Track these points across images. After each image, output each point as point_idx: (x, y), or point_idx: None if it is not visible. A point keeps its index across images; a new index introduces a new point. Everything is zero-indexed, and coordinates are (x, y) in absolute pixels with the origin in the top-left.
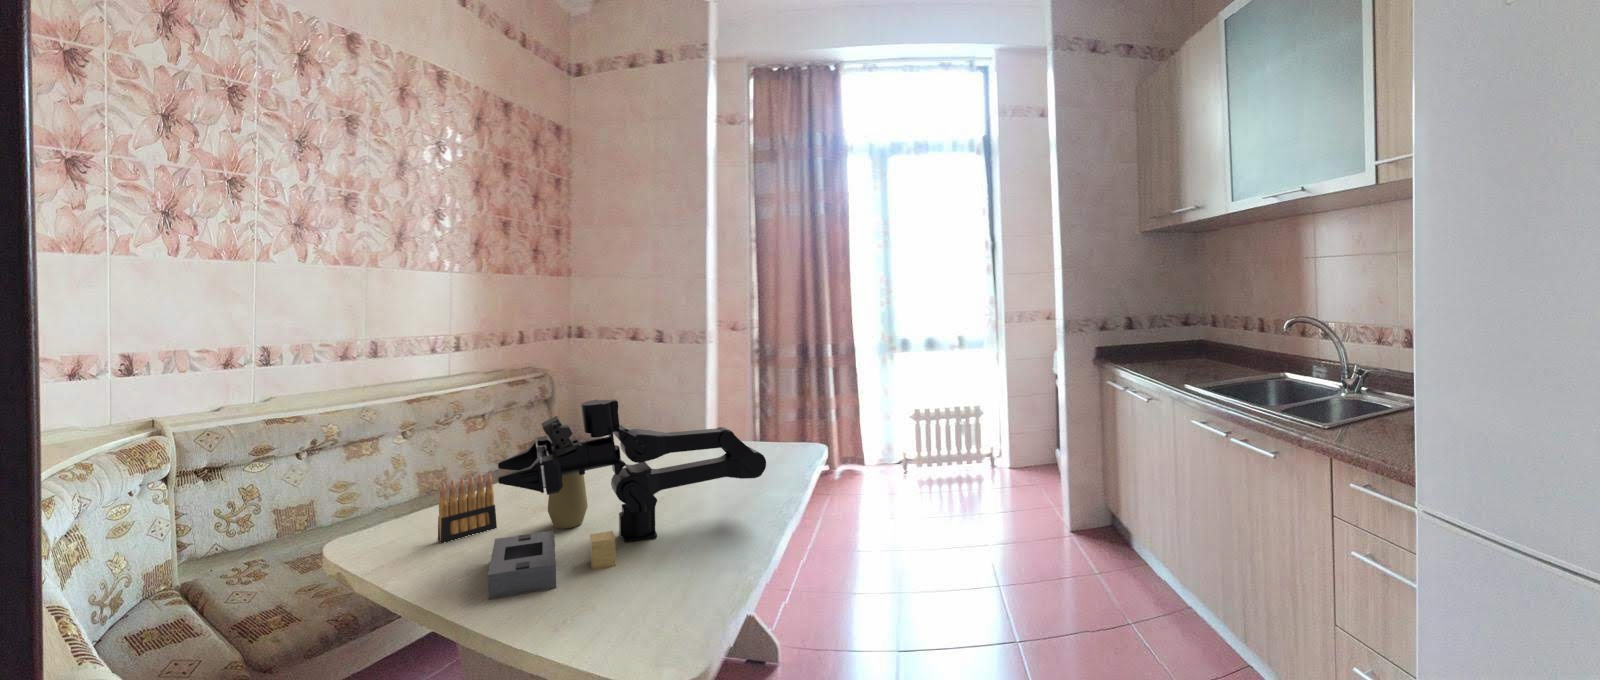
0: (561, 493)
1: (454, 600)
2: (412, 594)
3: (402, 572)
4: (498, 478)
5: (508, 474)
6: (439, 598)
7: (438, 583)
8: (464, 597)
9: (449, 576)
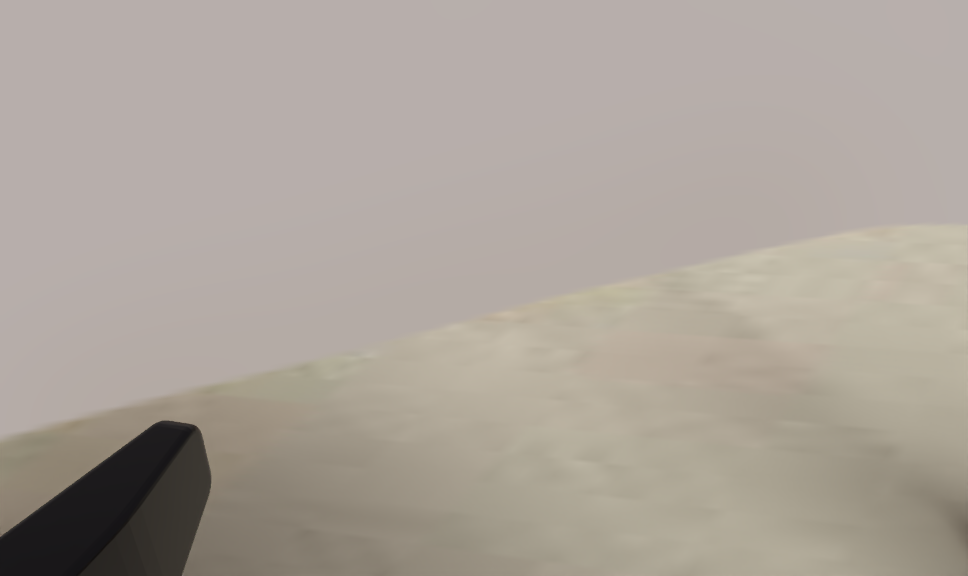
0: None
1: None
2: (297, 390)
3: (609, 385)
4: (164, 422)
5: (53, 522)
6: None
7: (343, 491)
8: None
9: (401, 547)
